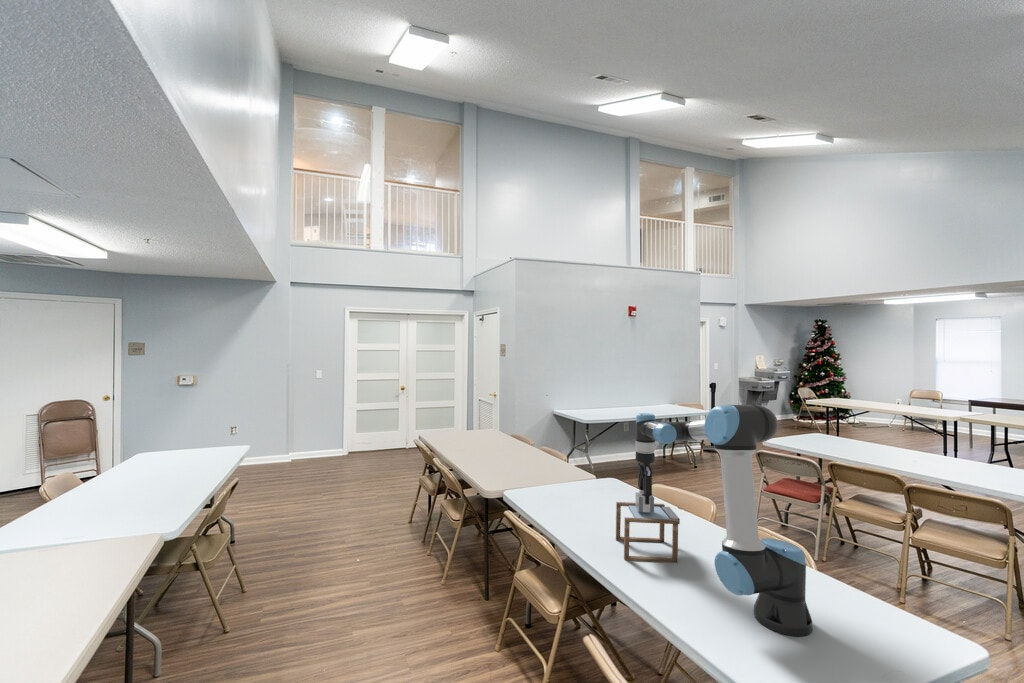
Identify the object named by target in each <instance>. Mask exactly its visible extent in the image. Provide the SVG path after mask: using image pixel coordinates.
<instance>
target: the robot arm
mask: <svg viewBox="0 0 1024 683" xmlns="http://www.w3.org/2000/svg"><path fill="white" fill-rule="evenodd" d="M635 418H636V419H635V451H636V452H635V461H636V462H638V464H637V465H638V467H637V468H638V469H637V470H638V473H637V476H638V477H637V478H638V479H637V487H638V491H639V492H638V493H644V494H642V496H643V512H650V496H653V487H652V486H653V470H652V467H651V465H650V464H653V463H655V462H656V456H655V455H656V454H655V449H656V447H657V444H656V443H655V442H658V443H660V444H665V445H669V444H672V443H673V442H697V441H702V440H703V441H705V440H708V441H709V442H710V443H712V444H713V447H714V451H716V452H717V453H718V454H719V456H720V465H721V466H720V469H721V480H722V482H721V483H722V492H723V505H724V517H725V531H726V536H725V537H724V538H723V540H722V541H721V547H722V548H721V549H722V550H721V551H719V552H717V554H716V555H715V557H714V569H715V573H716V575H717V577H718V579H719V580H720V582H721V583H722V586H723V587H724V588H725V589H726V590H727V591H729V592H730V593H732V594H733V595H735V596H753V595H756V594H758V595H757V598H756V600H755V601H754V602H755V603H754V605H753V616H754V618H755V619H756V621H757V622H759V623H760V624H761V625H763V626H764V627H766V628H768V629H769V630H772V631H773V632H777V633H779V634H782V635H787V636H791V637H805V636H808V635H811V633H812V632H813V620H812V616H811V613H810V611H809V607H808V605H807V600H806V592H807V591H806V590H807V589H806V586H807V585H806V579H807V575H806V574H807V571H806V570H807V562H806V553H805V552H804V550H803V549H802V548H800V547H799V546H797V545H795V544H792V543H791V542H787V541H784V540H781V539H776V538H770V537H768V538H767V537H765V538H762V539H761V540H760V537H759V536H760V534H759V524H758V513H757V501H756V491H755V480H754V468H753V466H754V465H753V458H752V456H753V455H754V454H755V453H756V452H757V450H758V449H757V443H763V442H767V441H769V440H771V439H772V438H774V436H776V434H777V432H778V429H779V421H778V418H777V416H776V415H775V413H774V412H773V411H772V410H771V409H770V408H768V407H766V406H763V405H759V404H726V405H725V404H724V405H717V406H715V407H713V408H711V409H710V410H709V412H708V413H707V414H706V417H705V418H703V419H696V420H689V421H688V420H687V421H657V420H656V416H655V414H653V413H647V412H646V413H645V412H641V413H637V414H636V417H635Z"/></svg>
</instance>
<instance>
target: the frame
mask: <svg viewBox="0 0 1024 683" xmlns="http://www.w3.org/2000/svg"><path fill="white" fill-rule="evenodd" d="M635 504H636V502H629V501H628V502H625V501H616V504H615V510H616V512H615V540H616V541H618V542H619V541H623V544H624V545H623V559H624V561H635V562H636V561H637V562H655V563H656V562H658V563H659V562H660V563H678V561H679V560H678V559H679V524H678V520H675V519H651V518H634V517H624V526H623V527H624V530H623V531H624V532H623V533H624V534H623V535H624V536H621V523H622V522H621V519H622V518H621V517H622V516H621V515H622V514H621V513H622V512H621V511H622V507H629V505H630V506H635ZM654 506H657V507H660V508H661V509H662V507H666V505H665V504H664V503H655V502H654ZM630 523H636V524H637V523H639V524H640V523H641V524H659V534H658V535H659V536H658V537H659V538H658V537H636V536H633V537H632V536H630V525H631V524H630ZM665 524H667V525H668V524H669V525H672V538H671V539H672V547H671V548H672V549H671V550H672V551H671V554H672V555H671V556H672V557H667V556H665V557H664V556H663V557H661V556H641V555H640V556H639V555H637V556H636V555H630V542H640V543H641V542H643V543H644V542H645V543H665Z"/></svg>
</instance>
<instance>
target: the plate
mask: <svg viewBox="0 0 1024 683" xmlns="http://www.w3.org/2000/svg"><path fill="white" fill-rule="evenodd" d="M628 510H629V513H631V515H632V518H651V519H675V520H678V525H681V524H680V523H681V522H680V520H681V519H680V517H679V516H678V515H677V514H676V513H675V512H674V511H673V509H672V508H671V506H665V507H662V509H661V508H660V507H657V506H654V513H649V512H638V510H637V509H636V507H635V506H630V505H629V506H628Z"/></svg>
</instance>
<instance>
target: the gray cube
mask: <svg viewBox="0 0 1024 683" xmlns="http://www.w3.org/2000/svg"><path fill="white" fill-rule="evenodd" d="M642 494H644V493H639V492H635V503H636V504H635V507H636V509H637V510H638V512H643V496H642ZM654 503H655V497H654V495H652V496H650V512H649V513H654Z"/></svg>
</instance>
